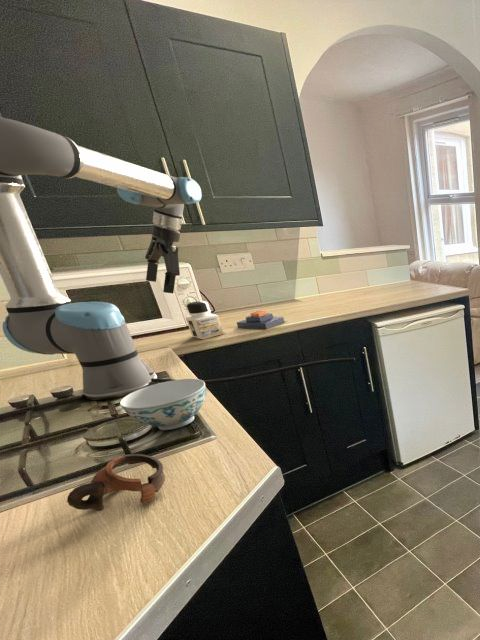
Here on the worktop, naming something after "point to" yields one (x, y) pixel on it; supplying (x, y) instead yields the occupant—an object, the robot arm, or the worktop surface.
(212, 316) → the container
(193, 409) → the chinaware
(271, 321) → the blue orange stepped pyramid
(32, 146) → the robot arm
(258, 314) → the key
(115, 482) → the brown curved ring piece
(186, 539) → the worktop surface
